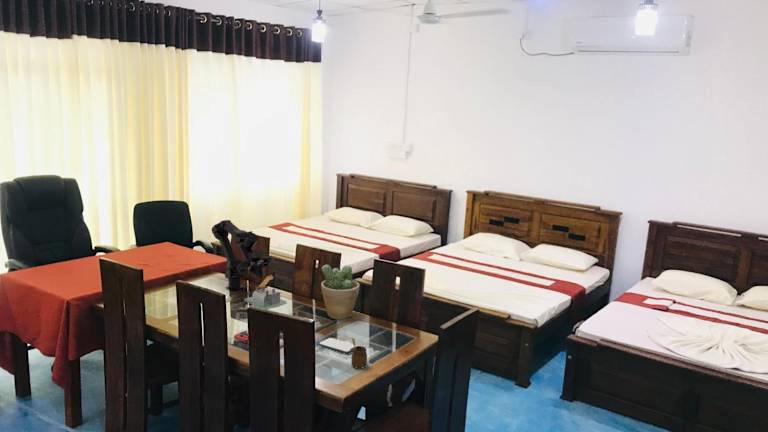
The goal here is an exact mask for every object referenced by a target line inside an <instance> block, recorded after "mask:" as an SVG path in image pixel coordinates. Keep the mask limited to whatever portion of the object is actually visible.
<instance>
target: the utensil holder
mask: <svg viewBox="0 0 768 432" xmlns="http://www.w3.org/2000/svg"><path fill="white" fill-rule="evenodd" d="M351 340H352V344H353V345H354V348H353V353H351V366H352V365H353V366H354V367H357V368H356V369H359V368H360V369H363V368H362V367H364V368H366V367H367V365H368V353H367V343H368V340H366V337H363V339H361V341H360V344H365V345H358V346H356V347H355V345H357V344H356V341H355V338H354V337H351ZM353 366H352V367H353ZM365 366H366V367H365ZM354 367H353V368H354Z"/></svg>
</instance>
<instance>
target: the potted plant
mask: <svg viewBox="0 0 768 432" xmlns="http://www.w3.org/2000/svg"><path fill="white" fill-rule="evenodd" d="M321 270H322V274H323V275H324V280H323V281H321V283H320V285H321V286H320V288H321V294H322V295H323V302H324V306H325V309H326V313H327V316H328V317H329V318H331V319H334V320H345V318H346V319H349V318H351V317H352V315H353V312H354V310H355V306H356V303H357V298H358V295H359V294H360V293H359V292H360V283H359V282H358V281H356V280H354V278H353V267H352V266H351V265H349V264H348V265H347V264H346V265H344V266H342V269H341V270H339V268H338V267H334V268H332V267H331V266H330V265H329V264H324V265H323V266H322V267H321ZM350 316H351V317H350ZM348 317H349V318H348Z"/></svg>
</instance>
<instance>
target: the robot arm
mask: <svg viewBox="0 0 768 432" xmlns="http://www.w3.org/2000/svg"><path fill="white" fill-rule="evenodd" d="M211 234H213V237H214V238H215V239H216V240H218V241H219V243H220V245H221V249H222V251H223V254H224V256H225V258H226V262H227V265H226V271H225V273H224V277H225V279H227V280H228V286H226V287H225V289H227V288H228V290H230V289H231V290H230V291H232V290H234V291H237V289H238V290H241V288H242V289H243V288H244V287H243V286H241V282H242V281H241V278H244V276H245V269H247V268H248V273H251V274H253V275H255V276H256V277H258V278H259V279H261V280H262V279H264V272H263V268H266V267H268V266H269V265H270V264H271V263H272V262H273V259H272V257H271V256H266V257H265V255H267V251H266V250H265V248H261V249H259V250H254V249H253V248H254V247H255V245H256V244H257V242H258V241H259V236H258V234H256V233H254V232H253V231H246V230H245V229H244V230H243V229H240V228H238V226H236V225H235V224H234V223H233V222H232V220H231V219H224V220H221V221H219V222H218V223H216V224H214V225H213V226H212V227H211ZM229 234H230V235H231V236H232V241H234V243H235V244H237V245H238V252H241V254H242V255H243V260H244V261H242V260H241V259H237V257H236V254H235V251H234V248H233V246H232V243H231V240H230V238H229ZM239 244H240V245H239ZM262 257H263V258H262Z"/></svg>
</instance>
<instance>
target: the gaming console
mask: <svg viewBox="0 0 768 432" xmlns="http://www.w3.org/2000/svg"><path fill="white" fill-rule="evenodd" d="M233 338H234V340H237V341H240V342H242V343H245V344H249V343H248V333H247V330H244V331H241V332H238V333H236V334H234V335H233Z"/></svg>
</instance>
